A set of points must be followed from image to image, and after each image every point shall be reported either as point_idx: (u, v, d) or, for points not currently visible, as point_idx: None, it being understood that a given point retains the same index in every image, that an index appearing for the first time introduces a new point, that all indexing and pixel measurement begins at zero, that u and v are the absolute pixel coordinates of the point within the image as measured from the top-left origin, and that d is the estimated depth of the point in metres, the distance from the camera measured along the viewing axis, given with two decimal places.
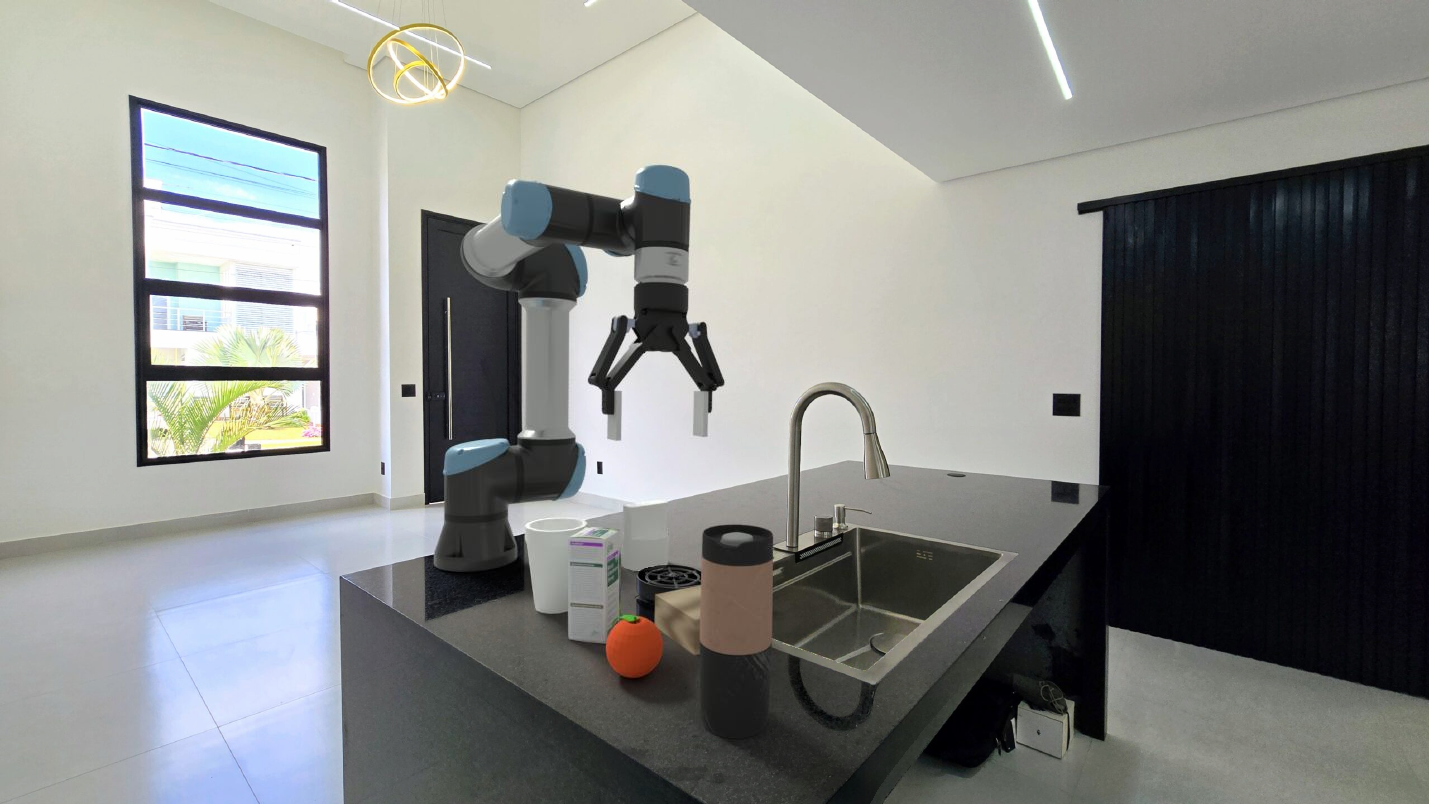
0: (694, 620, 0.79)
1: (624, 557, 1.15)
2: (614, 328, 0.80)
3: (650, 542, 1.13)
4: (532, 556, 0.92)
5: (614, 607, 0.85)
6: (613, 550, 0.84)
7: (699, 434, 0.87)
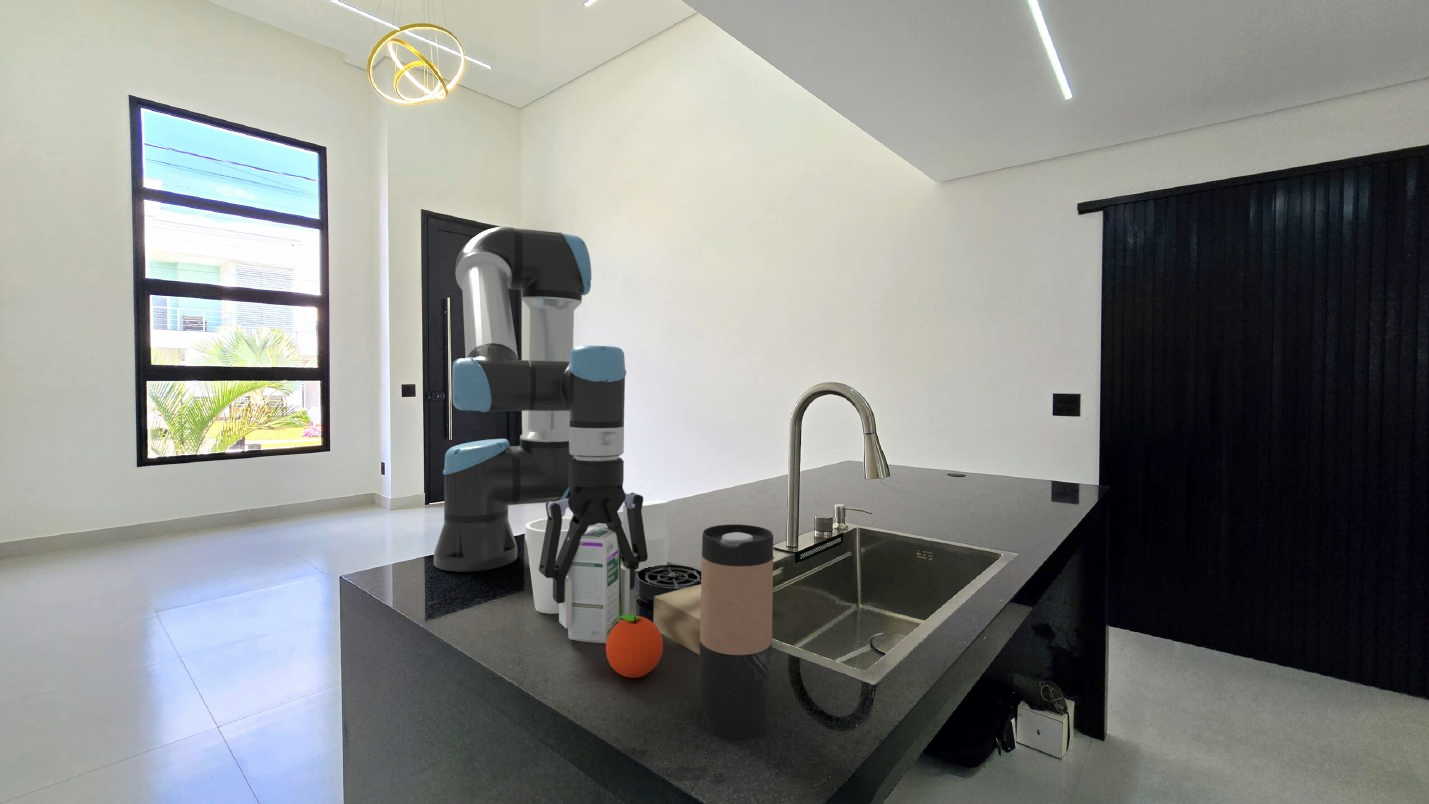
0: None
1: None
2: (550, 515, 0.81)
3: (650, 542, 1.13)
4: (532, 556, 0.92)
5: (614, 607, 0.85)
6: (613, 550, 0.84)
7: (621, 611, 0.87)
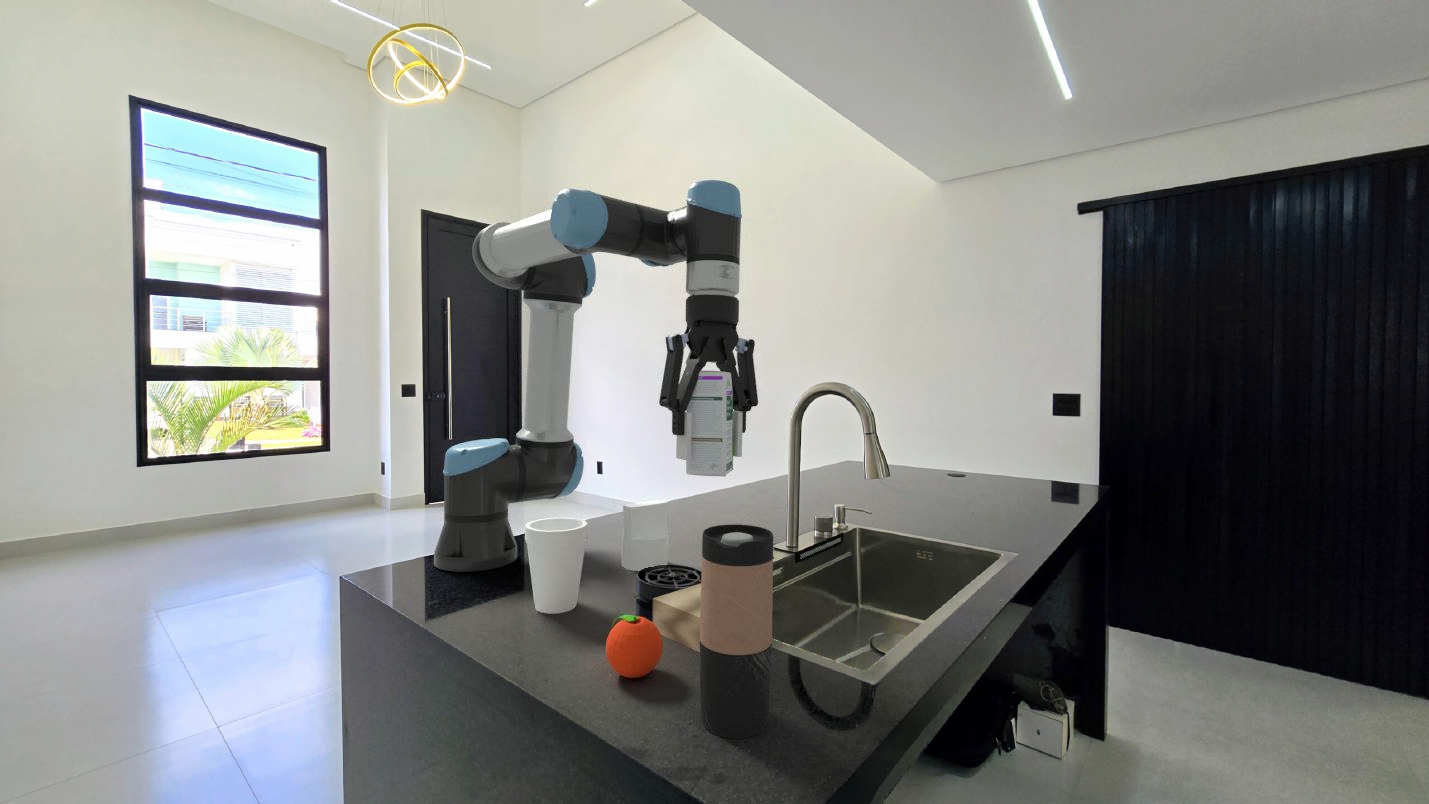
0: None
1: (624, 557, 1.15)
2: (671, 348, 0.82)
3: (650, 542, 1.13)
4: (532, 556, 0.92)
5: (730, 445, 0.85)
6: (729, 388, 0.85)
7: (733, 454, 0.88)
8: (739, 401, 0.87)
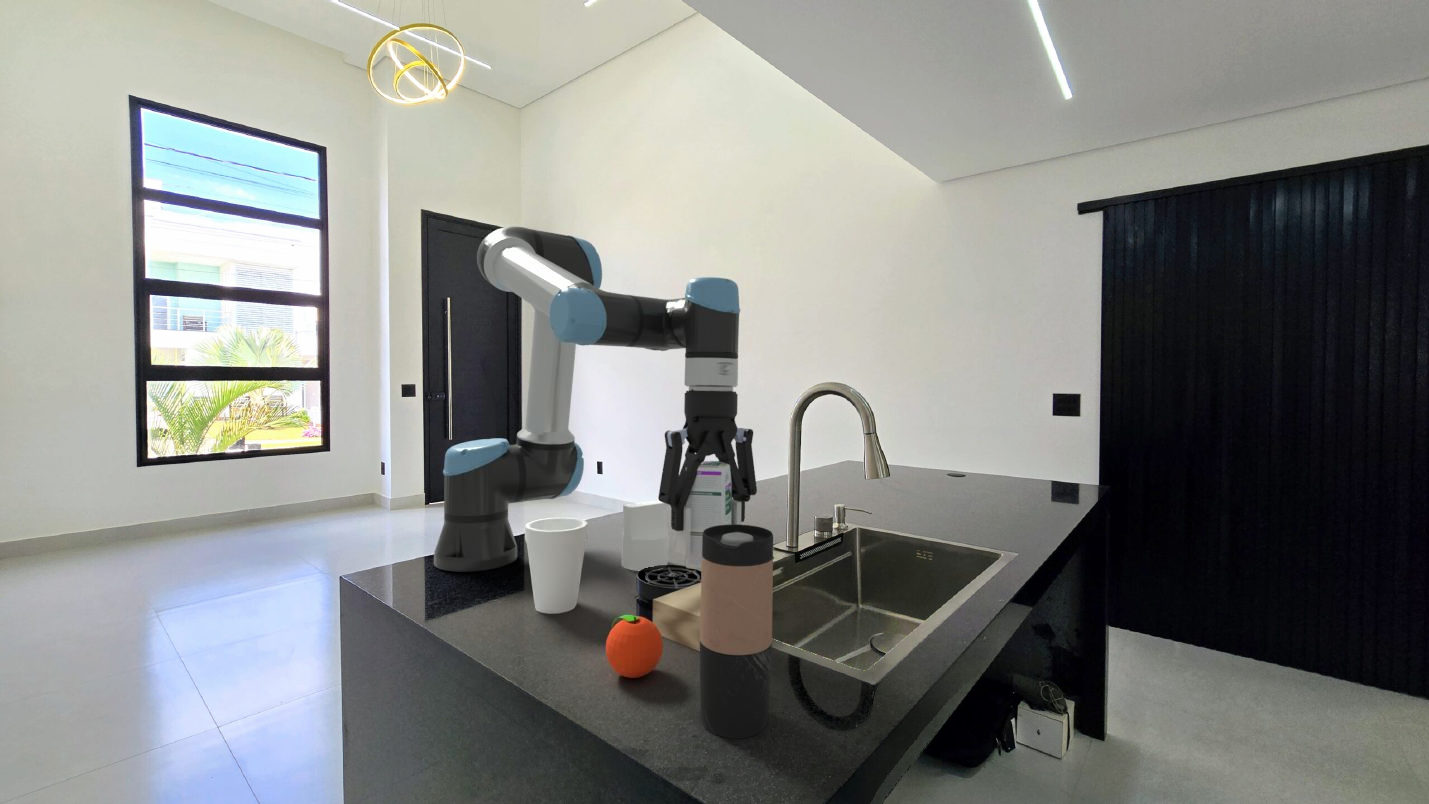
0: None
1: (624, 557, 1.15)
2: (670, 444, 0.82)
3: (650, 542, 1.13)
4: (532, 556, 0.92)
5: None
6: (728, 480, 0.85)
7: None
8: (738, 491, 0.88)
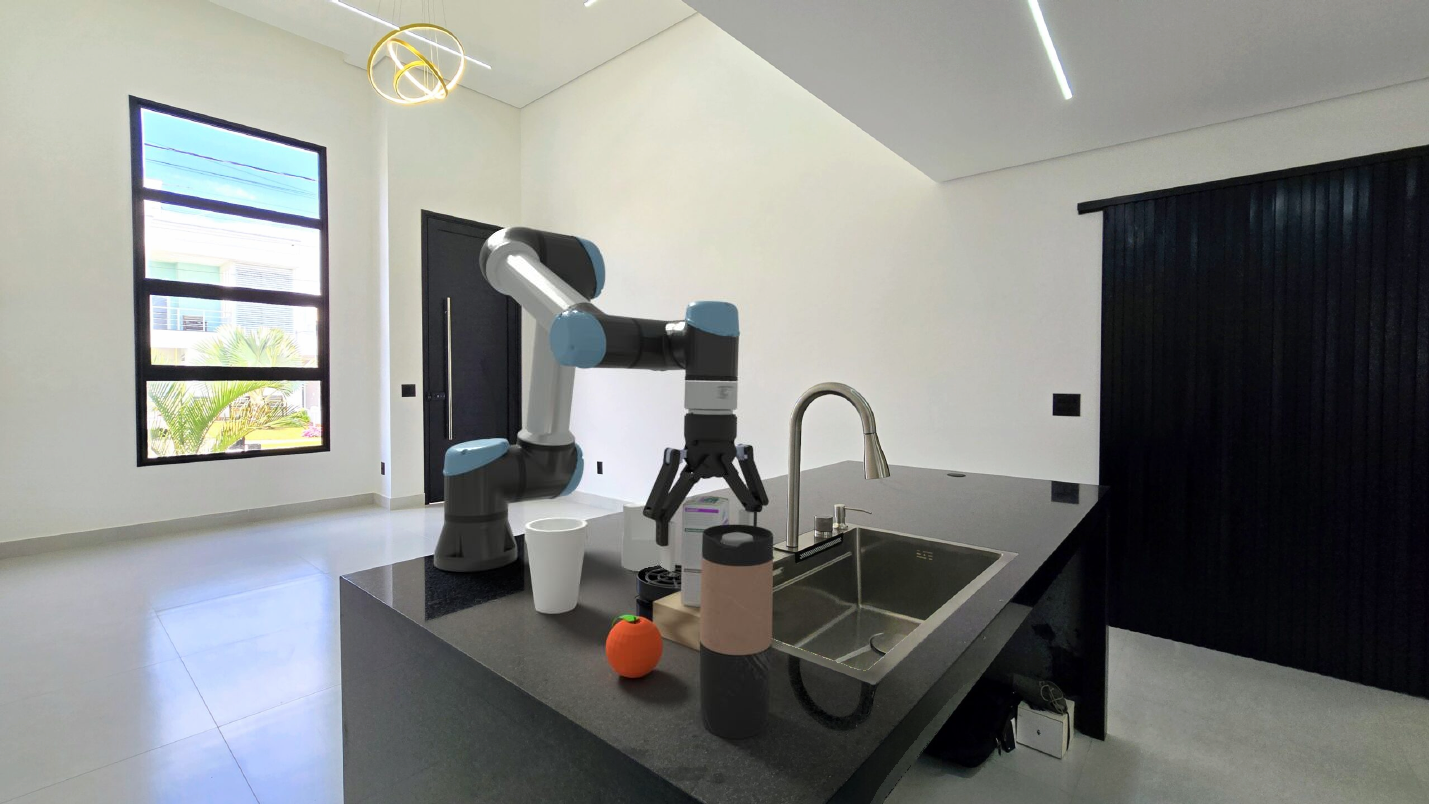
0: None
1: (624, 557, 1.15)
2: (667, 461, 0.82)
3: (650, 542, 1.13)
4: (532, 556, 0.92)
5: None
6: (725, 517, 0.86)
7: None
8: (749, 504, 0.89)
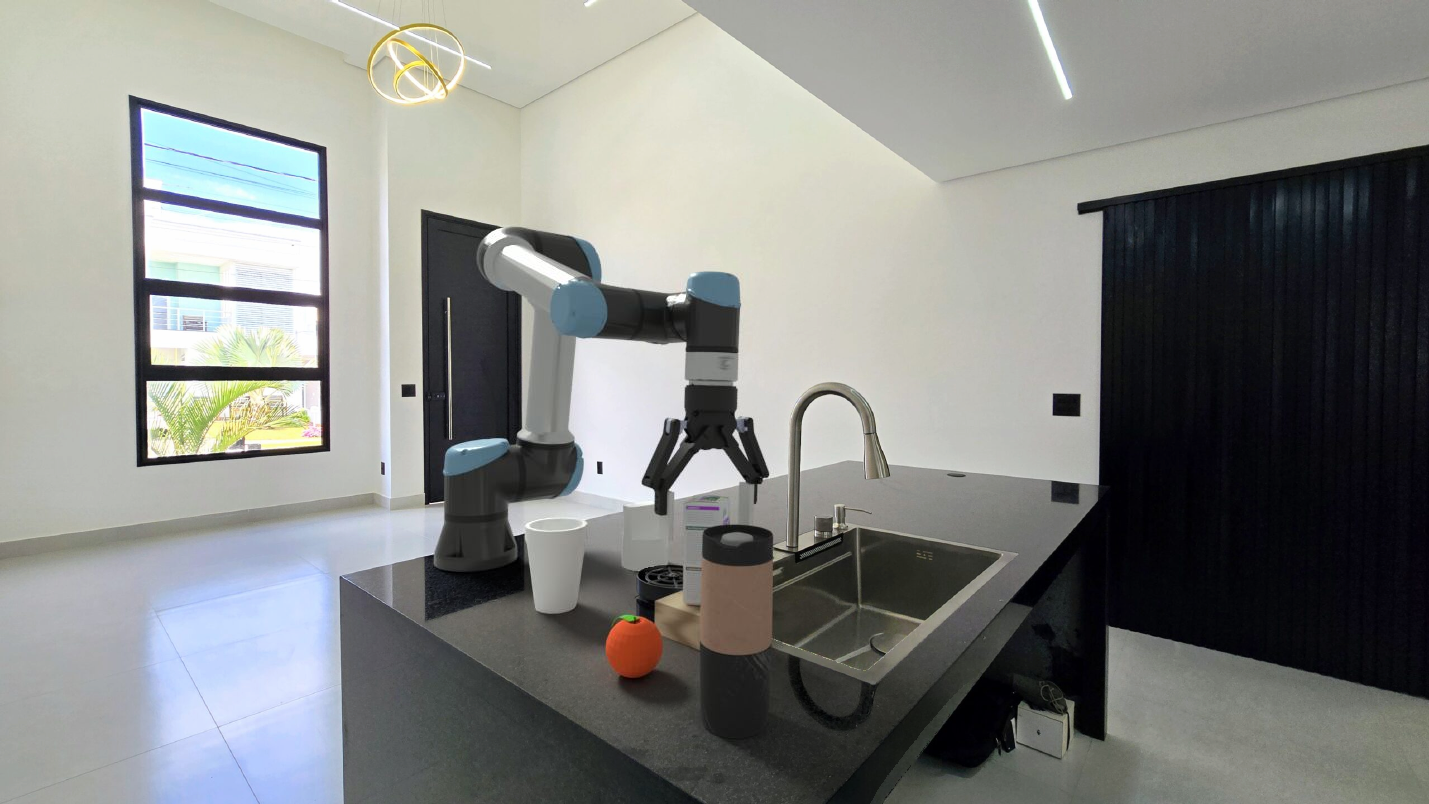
0: None
1: (624, 557, 1.15)
2: (667, 430, 0.82)
3: (650, 542, 1.13)
4: (532, 556, 0.92)
5: None
6: (726, 515, 0.86)
7: None
8: (750, 476, 0.89)
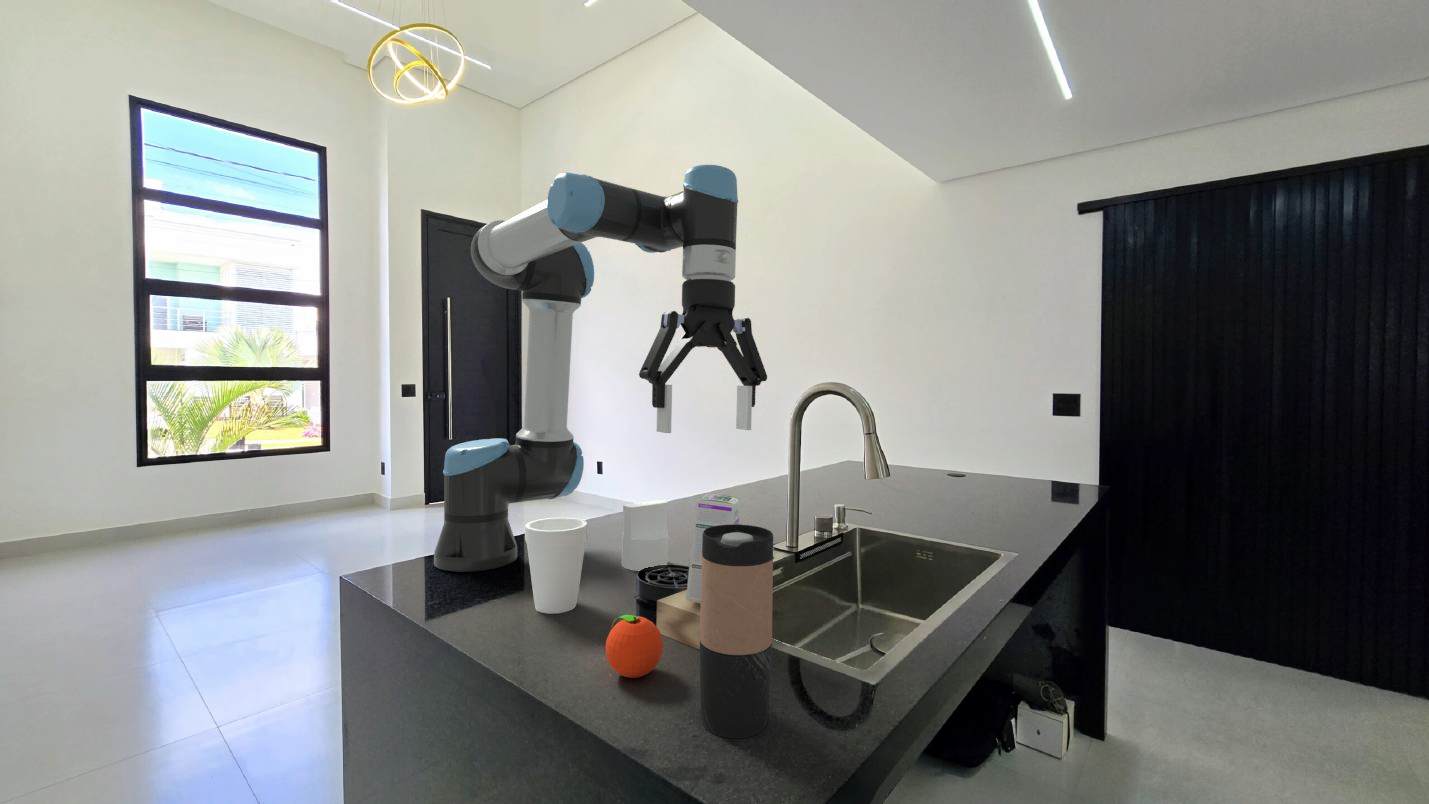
0: None
1: (624, 557, 1.15)
2: (664, 324, 0.82)
3: (650, 542, 1.13)
4: (532, 556, 0.92)
5: None
6: (737, 517, 0.86)
7: (743, 427, 0.90)
8: (748, 378, 0.89)
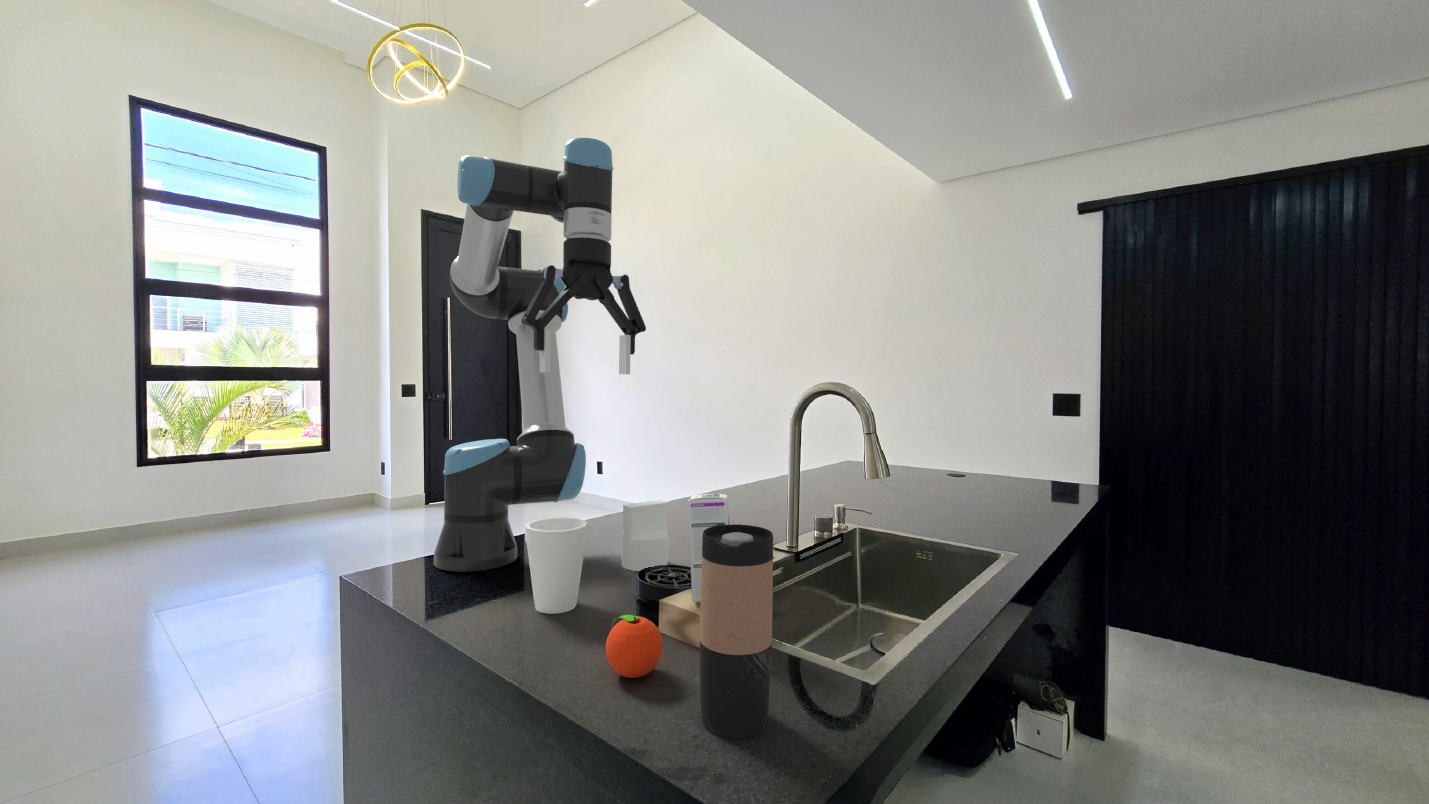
0: None
1: (624, 557, 1.15)
2: (544, 277, 0.94)
3: (650, 542, 1.13)
4: (532, 556, 0.92)
5: None
6: (728, 511, 0.88)
7: (623, 372, 1.01)
8: (626, 328, 1.00)
